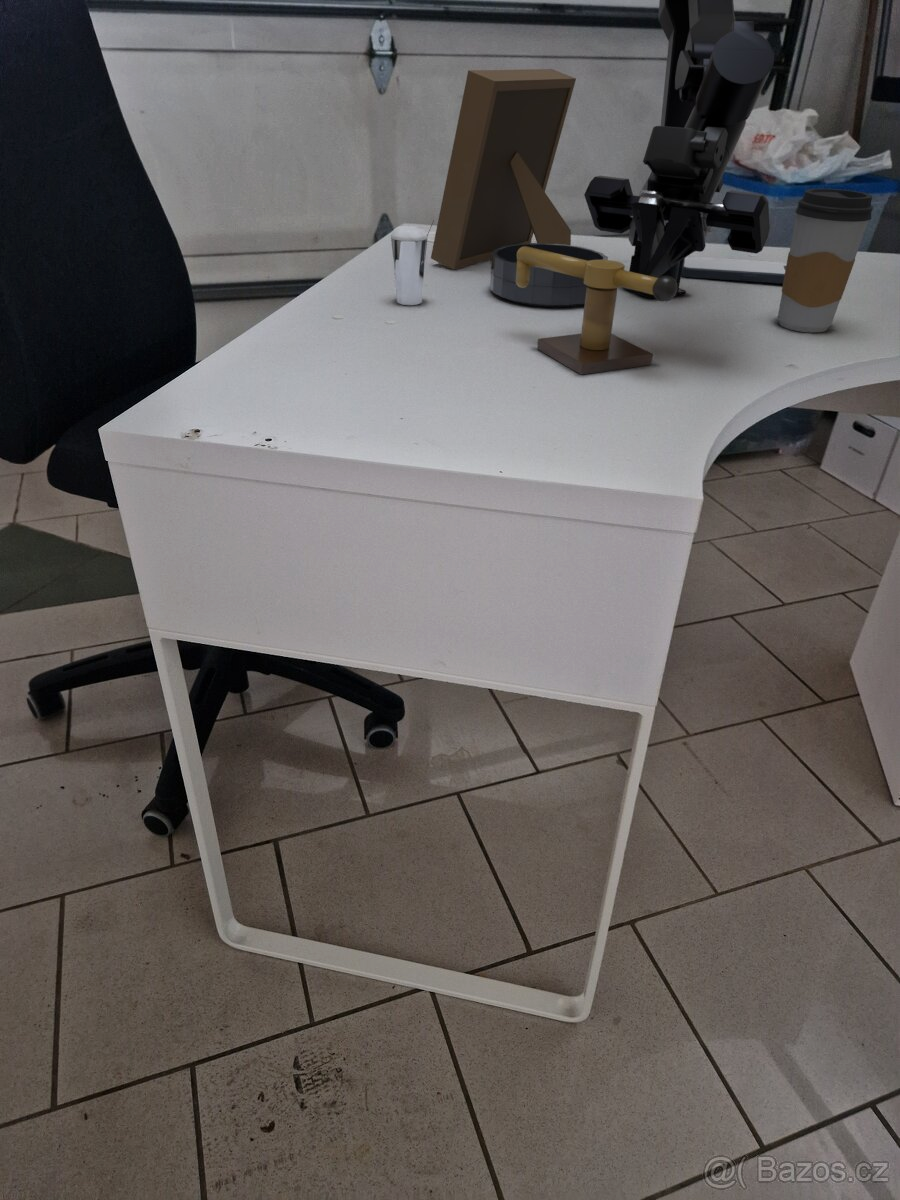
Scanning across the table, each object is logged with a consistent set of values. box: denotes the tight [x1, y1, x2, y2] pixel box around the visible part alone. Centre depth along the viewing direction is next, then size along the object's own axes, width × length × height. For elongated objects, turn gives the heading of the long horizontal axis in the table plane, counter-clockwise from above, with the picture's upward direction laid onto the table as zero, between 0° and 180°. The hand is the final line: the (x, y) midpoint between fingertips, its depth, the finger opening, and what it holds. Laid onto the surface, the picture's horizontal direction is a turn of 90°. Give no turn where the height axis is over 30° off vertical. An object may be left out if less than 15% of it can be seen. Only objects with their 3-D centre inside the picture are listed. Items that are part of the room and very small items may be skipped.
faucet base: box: [536, 286, 654, 376], centre depth 89 cm, size 9×9×7 cm
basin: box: [489, 242, 609, 308], centre depth 111 cm, size 15×15×5 cm
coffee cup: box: [777, 188, 874, 333], centre depth 99 cm, size 8×8×15 cm
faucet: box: [516, 246, 677, 303], centre depth 88 cm, size 21×4×5 cm, turn 44°
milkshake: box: [390, 219, 435, 306], centre depth 104 cm, size 5×5×10 cm
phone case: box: [681, 256, 787, 285], centre depth 124 cm, size 9×2×16 cm
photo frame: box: [430, 68, 577, 271], centre depth 121 cm, size 15×22×25 cm
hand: (642, 283), depth 85 cm, fingers closed
